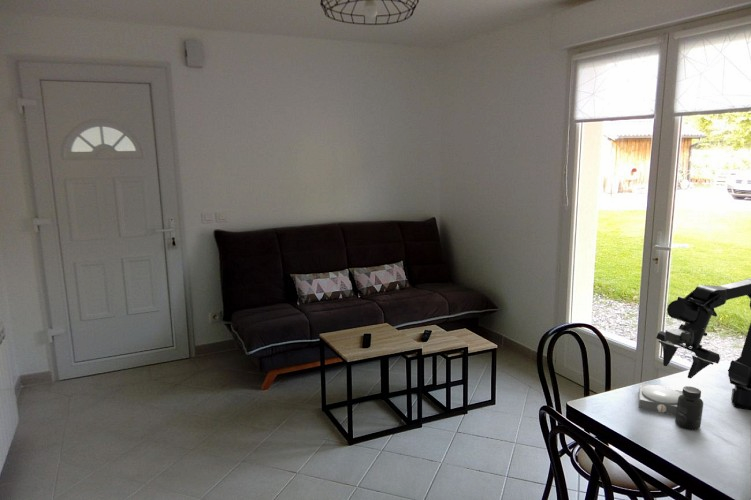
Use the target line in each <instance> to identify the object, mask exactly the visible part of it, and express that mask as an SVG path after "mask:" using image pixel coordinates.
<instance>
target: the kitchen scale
mask: <svg viewBox="0 0 751 500" xmlns="http://www.w3.org/2000/svg"><path fill="white" fill-rule="evenodd" d="M638 390H639V391H638V408H639V409H643V410H648V411H653V412H657V413H658V412H659V413H662V414H668V415H673V416H676V409H677V401H678V397H679V396H680V395H682V391H683V390H677V389H673V388H670V387H667V386H664V385H657V384H644V383H639V389H638Z"/></svg>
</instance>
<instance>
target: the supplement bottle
mask: <svg viewBox="0 0 751 500" xmlns="http://www.w3.org/2000/svg"><path fill="white" fill-rule="evenodd" d="M681 391H682V395H680V396H679V397H678V401H677V409H676V415H675V418H674V419H675V420H674V421H675V424H676V425H677V426H678V427H679V428H681V429H684V430H687V431H698V430H699V429H701V425H702V418H703V409H704V401H703V400H702V399H701V397H702V390H701V389H699V388H698V387H697V388H696V387H694V386H686V385H685V386H683V387H682V390H681Z"/></svg>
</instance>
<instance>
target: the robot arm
mask: <svg viewBox="0 0 751 500" xmlns="http://www.w3.org/2000/svg"><path fill="white" fill-rule="evenodd" d="M745 296H746V297H748V298H749V299H750V301H749V309H750V310H751V277H748V278H745V279H743V280H740V281H735V282H729V283H726V284H721V285H713V284H712V285H710V284H704V285H703V284H700V285H697V286H696V287H695V289H693V290H692V291H691V292H690V293H688V294H687V295H686V296H685V297H681V296H678V297H677V299H676V300H673V301H671V302H669V304H668V305H667V308H666V311H667V315H668V316H669V317H670V318H671V319H675V320H678V321H681V322H684V324H683V323H681V324H680V325H679V326H678V328H671V329H668V328H667V329H665V331H662V330H661V331H659V332H657V335H656V337H655V338H656V339H657V340H658V343H659V344H660V345H661V347H662V353H663V354H662V355H663V356H662V358H663V359H662V361H663V362H662V365H663V366H664V367H667V366H668V365H669V363H670V362H671V361H672V359H673V358H674V356H675V354H676V352H677V351H678V349H679V347H680V348H683V349H685V350H687V351H689V352H692V353H694V355H692V357H691V358H692V363H691V366H690V368H689V371H688V373H687V378H688V379H693V378H694V377H695V376H696V375H697V374H698V373H699V372H701V371H702V370H703V369H705V368H706V367H708V366H710V365H714V363H715V364H717V365H718V364H719V362H720V360H721V357H720V354H719V353H717V352H714V351H712V350H711V349H706V348H704V347H703V345H702V344H701V343H702V341H703V338H704V336H705V337H707V336H708V333H707V332H706V330H707V327H708V326H709V324H710V320H711V318H712V316H713V317H718V314H717V312H716V311H715V309H717V308H719V307H721V306H723V305H725V304H726V302H727V301H729V300H733V299H736V298H741V297H745ZM749 323H750V324H749V327H748V331H747V333H746V336H745V340H744V343H743V347H742V350H741V354H740V356H739V357H738V358H737V359H735V360H733V359H732V360H731V361H730V363H729V364H730V365H729V368H728V369H727V372H728V374H727V376H728V378H729V384H731V385H734V387H733V388H732V390H731V394H730V395H731V396H730V400H731V403H732V405H733V407H734V408H739V409H744V410H750V411H751V322H749ZM678 346H679V347H678Z"/></svg>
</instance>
